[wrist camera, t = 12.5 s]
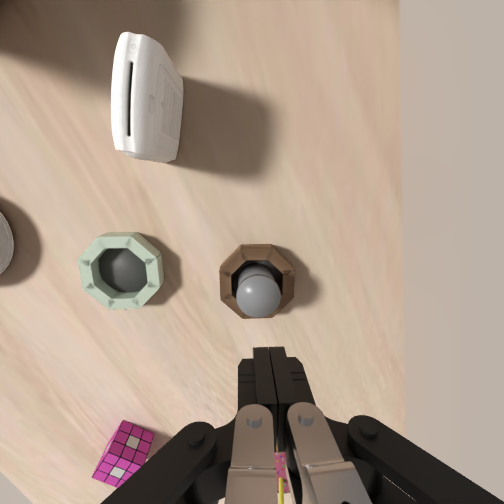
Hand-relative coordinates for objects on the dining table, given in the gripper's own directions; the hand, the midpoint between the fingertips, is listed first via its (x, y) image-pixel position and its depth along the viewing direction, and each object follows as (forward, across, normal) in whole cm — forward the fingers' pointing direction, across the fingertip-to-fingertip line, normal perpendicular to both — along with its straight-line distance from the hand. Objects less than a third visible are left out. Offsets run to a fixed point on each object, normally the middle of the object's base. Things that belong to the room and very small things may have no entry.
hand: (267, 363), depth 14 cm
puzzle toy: (+27, +20, +34) cm, 48 cm away
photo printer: (+27, +10, -15) cm, 33 cm away
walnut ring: (+27, -1, +6) cm, 28 cm away
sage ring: (+27, +17, +4) cm, 32 cm away
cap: (+26, -1, +6) cm, 27 cm away
